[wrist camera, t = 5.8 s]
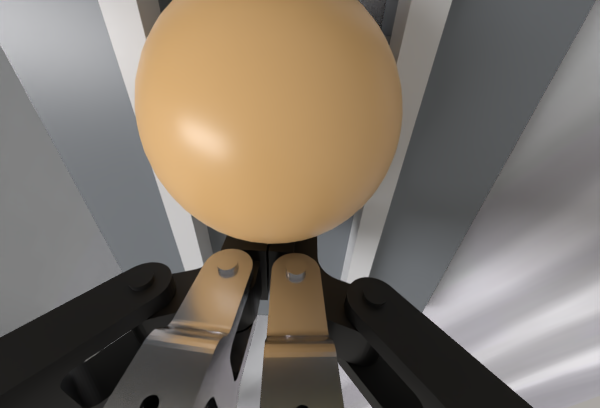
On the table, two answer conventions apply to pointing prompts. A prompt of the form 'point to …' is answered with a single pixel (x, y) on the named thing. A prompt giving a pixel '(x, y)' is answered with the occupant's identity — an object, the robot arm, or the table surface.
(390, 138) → the ball
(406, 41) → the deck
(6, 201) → the table surface
